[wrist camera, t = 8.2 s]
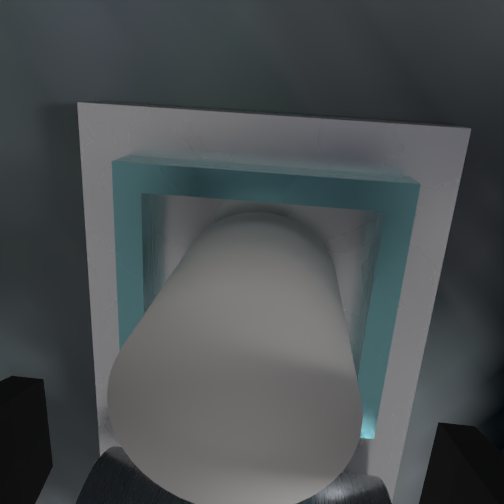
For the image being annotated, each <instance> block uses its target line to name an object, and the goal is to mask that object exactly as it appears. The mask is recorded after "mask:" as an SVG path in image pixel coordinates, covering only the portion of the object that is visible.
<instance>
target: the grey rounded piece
mask: <svg viewBox="0 0 504 504" xmlns="http://www.w3.org/2000/svg"><path fill="white" fill-rule="evenodd" d="M107 404H108V413H109V417H110V421H111V425H112V427H113V430H114V432H115V435H116V437H117V439H118V441H119V443H120V444H121V446H122V448H123V450H124V451H125V453H126V454H127V455H128V457H129V458H130V459H131V461H132V462H133V463H134V464H135V465H136V466H137V467H138V468H139V469H140V470H141V471H142V472H143V473H144V474H145V475H146V476H147V477H149V478H150V479H151V480H152V481H153V482H155V483H156V484H158V485H159V486H161V487H162V488H164V489H165V490H167V491H168V492H170V493H172V494H174V495H176V496H178V497H180V498H182V499H184V500H187V501H189V502H192V503H194V504H296V503H299V502H301V501H303V500H305V499H307V498H310V497H312V496H313V495H315V494H316V493H318V492H320V491H321V490H323V489H324V488H325V487H327V486H328V485H329V484H330V483H331V482H333V481H334V480H335V479H336V478H337V477H338V475H339V474H340V473H341V472H342V471H343V470H344V469H345V467H346V466H347V464H348V463H349V461H350V460H351V458H352V456H353V454H354V452H355V450H356V448H357V445H358V442H359V438H360V435H361V429H362V421H363V412H362V401H361V396H360V391H359V386H358V381H357V376H356V371H355V366H354V361H353V356H352V351H351V346H350V341H349V336H348V331H347V326H346V321H345V316H344V311H343V306H342V301H341V296H340V291H339V286H338V281H337V276H336V271H335V267H334V265H333V262H332V259H331V257H330V255H329V254H328V252H327V250H326V249H325V247H324V246H323V244H322V243H321V242H320V241H319V240H318V239H317V238H316V236H315V235H314V234H312V233H311V232H310V231H309V230H307V229H306V228H305V227H303V226H302V225H300V224H298V223H297V222H295V221H292V220H290V219H288V218H286V217H282V216H279V215H276V214H270V213H261V212H251V213H241V214H237V215H232V216H230V217H227V218H224V219H222V220H220V221H218V222H216V223H214V224H213V225H211V226H210V227H208V228H207V229H205V230H204V231H203V232H202V233H201V234H200V235H199V236H198V237H197V238H196V240H195V241H194V242H193V243H192V245H191V246H190V248H189V249H188V250H187V252H186V253H185V255H184V256H183V258H182V259H181V261H180V262H179V264H178V265H177V267H176V268H175V270H174V271H173V273H172V274H171V276H170V277H169V278H168V280H167V281H166V283H165V284H164V286H163V287H162V289H161V290H160V292H159V293H158V295H157V296H156V298H155V299H154V301H153V302H152V304H151V305H150V306H149V308H148V309H147V311H146V312H145V314H144V315H143V317H142V318H141V320H140V321H139V323H138V324H137V326H136V327H135V329H134V330H133V332H132V333H131V335H130V336H129V337H128V339H127V340H126V342H125V343H124V345H123V346H122V348H121V350H120V351H119V353H118V355H117V357H116V358H115V361H114V363H113V366H112V369H111V371H110V376H109V381H108V386H107Z"/></svg>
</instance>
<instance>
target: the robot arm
mask: <svg viewBox="0 0 504 504" xmlns="http://www.w3.org/2000/svg"><path fill="white" fill-rule="evenodd" d="M52 467H53V464H52V454H51V445H50V436H49V427H48V418H47V409H46V400H45V391H44V382H43V379H35V378H26V377H17V376H11V377H9V378H7V379H4V380H2V381H0V504H35V502H36V500H37V498H38V496H39V494H40V492H41V490H42V488H43V486H44V484H45V482H46V479H47V477H48V475H49V473H50V471H51V469H52ZM419 504H504V454H503V453H502V452H501V451H500V450H499V449H498V448H497V447H496V446H495V445H494V444H493V443H492V442H491V441H490V440H488V439H487V438H486V437H485V436H484V435H483V434H482V433H481V432H480V431H479V430H478V429H477V428H476V427H474V426H466V425H457V424H448V423H438V427H437V431H436V435H435V439H434V444H433V448H432V452H431V456H430V460H429V464H428V469H427V473H426V477H425V481H424V485H423V489H422V494H421V498H420V502H419Z"/></svg>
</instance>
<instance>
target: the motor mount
mask: <svg viewBox="0 0 504 504" xmlns="http://www.w3.org/2000/svg"><path fill="white" fill-rule="evenodd" d="M77 107H78V122H79V138H80V153H81V168H82V184H83V199H84V215H85V230H86V246H87V261H88V277H89V292H90V308H91V323H92V339H93V354H94V370H95V385H96V400H97V416H98V431H99V447H100V458H99V459H98V461H97V462H96V464H95V465H94V467H93V468H92V470H91V472H90V474H89V476H88V478H87V480H86V482H85V484H84V486H83V488H82V490H81V493H80V495H79V497H78V500H77V502H76V504H194V503H192V502H189V501H187V500H184V499H182V498H180V497H178V496H176V495H174V494H172V493H170V492H168V491H167V490H165V489H164V488H162V487H161V486H159V485H158V484H156V483H155V482H153V481H152V480H151V479H150V478H149V477H147V476H146V475H145V474H144V473H143V472H142V471H141V470H140V469H139V468H138V467H137V466H136V465H135V464H134V463H133V462H132V461H131V459H130V458H129V457H128V455H127V454H126V453H125V451H124V450H123V448H122V446H121V444H120V443H119V441H118V439H117V437H116V435H115V432H114V430H113V427H112V425H111V421H110V417H109V413H108V404H107V386H108V381H109V376H110V371H111V369H112V366H113V363H114V361H115V358H116V357H117V355H118V353H119V351H120V350H121V348H122V346H123V345H124V343H125V342H126V340H127V339H128V337H129V336H130V335H131V333H132V332H133V330H134V329H135V327H136V326H137V324H138V323H139V321H140V320H141V318H142V317H143V315H144V314H145V312H146V311H147V309H148V308H149V306H150V305H151V304H152V302H153V301H154V299H155V298H156V296H157V295H158V293H159V292H160V290H161V289H162V287H163V286H164V284H165V283H166V281H167V280H168V278H169V277H170V276H171V274H172V273H173V271H174V270H175V268H176V267H177V265H178V264H179V262H180V261H181V259H182V258H183V256H184V255H185V253H186V252H187V250H188V249H189V248H190V246H191V245H192V243H193V242H194V241H195V240H196V238H197V237H198V236H199V235H200V234H201V233H202V232H203V231H204V230H205V229H207V228H208V227H210V226H211V225H213V224H214V223H216V222H218V221H220V220H222V219H224V218H227V217H230V216H232V215H237V214H241V213H251V212H261V213H270V214H276V215H279V216H282V217H286V218H288V219H290V220H292V221H295V222H297V223H298V224H300V225H302V226H303V227H305V228H306V229H307V230H309V231H310V232H311V233H312V234H314V235H315V236H316V238H317V239H318V240H319V241H320V242H321V243H322V244H323V246H324V247H325V249H326V250H327V252H328V254H329V255H330V257H331V259H332V262H333V265H334V267H335V271H336V276H337V281H338V286H339V291H340V296H341V301H342V306H343V311H344V316H345V321H346V326H347V331H348V336H349V341H350V346H351V351H352V356H353V361H354V366H355V371H356V376H357V381H358V386H359V391H360V396H361V401H362V412H363V421H362V429H361V435H360V438H359V442H358V445H357V448H356V450H355V452H354V454H353V456H352V458H351V460H350V461H349V463H348V464H347V466H346V467H345V469H344V470H343V471H342V472H341V473H340V474H339V475H338V477H337V478H336V479H335V480H334V481H333V482H331V483H330V484H329V485H328V486H327V487H325V488H324V489H323V490H321V491H320V492H318V493H316V494H315V495H313V496H312V497H310V498H307V499H305V500H303V501H301V502H299V503H296V504H392V499H393V495H394V490H395V485H396V480H397V476H398V471H399V466H400V462H401V457H402V452H403V448H404V443H405V438H406V433H407V429H408V424H409V419H410V415H411V410H412V405H413V400H414V396H415V391H416V386H417V382H418V377H419V372H420V368H421V363H422V358H423V353H424V349H425V344H426V339H427V335H428V330H429V325H430V321H431V316H432V311H433V306H434V302H435V297H436V292H437V288H438V283H439V278H440V274H441V269H442V264H443V259H444V255H445V250H446V245H447V241H448V236H449V231H450V226H451V222H452V217H453V212H454V208H455V203H456V198H457V194H458V189H459V184H460V179H461V175H462V170H463V165H464V161H465V156H466V151H467V147H468V142H469V137H470V132H471V128H467V127H462V126H458V125H452V124H437V123H422V122H407V121H392V120H377V119H362V118H347V117H332V116H317V115H302V114H286V113H271V112H256V111H241V110H226V109H211V108H196V107H181V106H166V105H151V104H136V103H121V102H106V101H89V102H77Z"/></svg>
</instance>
